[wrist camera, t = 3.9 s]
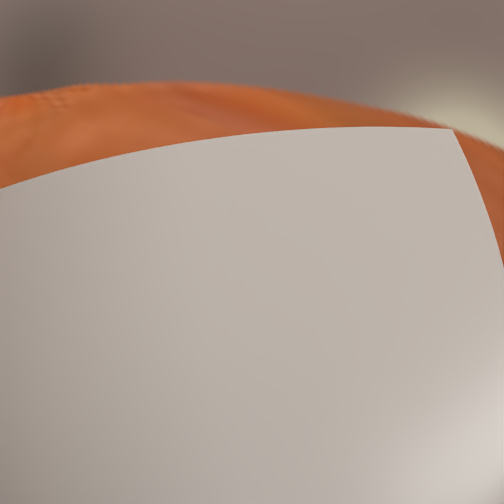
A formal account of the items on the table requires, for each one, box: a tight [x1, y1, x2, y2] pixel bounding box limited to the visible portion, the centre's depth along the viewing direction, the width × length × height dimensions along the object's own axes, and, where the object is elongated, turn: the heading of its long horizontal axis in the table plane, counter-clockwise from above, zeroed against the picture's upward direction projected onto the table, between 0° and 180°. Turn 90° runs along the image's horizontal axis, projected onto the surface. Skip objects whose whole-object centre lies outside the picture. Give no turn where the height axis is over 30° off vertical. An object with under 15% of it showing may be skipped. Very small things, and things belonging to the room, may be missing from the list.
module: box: [0, 127, 504, 504], centre depth 8 cm, size 6×6×12 cm
